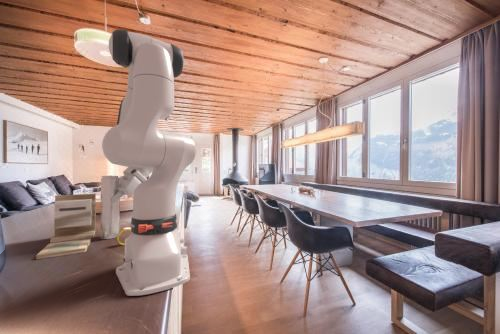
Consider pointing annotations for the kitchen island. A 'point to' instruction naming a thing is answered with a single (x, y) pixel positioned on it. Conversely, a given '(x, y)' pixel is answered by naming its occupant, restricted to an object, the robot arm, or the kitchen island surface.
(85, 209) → the mounted unit
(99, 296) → the kitchen island surface
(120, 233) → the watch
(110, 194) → the white tall cylinder
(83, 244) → the dock pad
